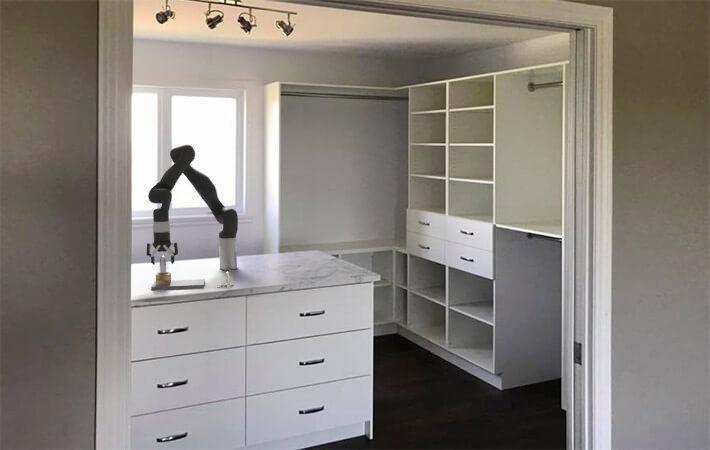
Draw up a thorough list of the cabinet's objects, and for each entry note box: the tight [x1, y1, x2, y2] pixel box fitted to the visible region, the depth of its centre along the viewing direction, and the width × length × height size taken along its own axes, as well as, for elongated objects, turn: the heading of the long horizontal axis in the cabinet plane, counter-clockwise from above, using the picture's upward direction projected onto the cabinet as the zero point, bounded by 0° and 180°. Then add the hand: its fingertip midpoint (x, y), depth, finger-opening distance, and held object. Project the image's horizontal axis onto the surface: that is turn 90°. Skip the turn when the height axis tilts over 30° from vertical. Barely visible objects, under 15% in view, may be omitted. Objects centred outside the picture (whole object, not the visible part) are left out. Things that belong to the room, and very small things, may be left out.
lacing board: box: [150, 278, 206, 291], centre depth 306 cm, size 24×12×2 cm, turn 100°
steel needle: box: [159, 255, 167, 275], centre depth 304 cm, size 3×3×13 cm
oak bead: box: [155, 271, 172, 285], centre depth 304 cm, size 6×6×5 cm
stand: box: [216, 270, 235, 289], centre depth 305 cm, size 8×5×8 cm
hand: (162, 264), depth 303 cm, fingers open, 8 cm apart
